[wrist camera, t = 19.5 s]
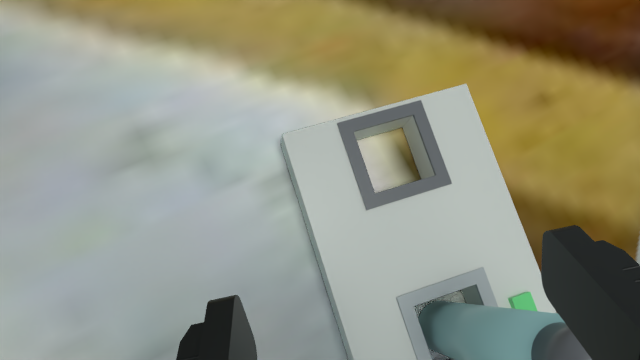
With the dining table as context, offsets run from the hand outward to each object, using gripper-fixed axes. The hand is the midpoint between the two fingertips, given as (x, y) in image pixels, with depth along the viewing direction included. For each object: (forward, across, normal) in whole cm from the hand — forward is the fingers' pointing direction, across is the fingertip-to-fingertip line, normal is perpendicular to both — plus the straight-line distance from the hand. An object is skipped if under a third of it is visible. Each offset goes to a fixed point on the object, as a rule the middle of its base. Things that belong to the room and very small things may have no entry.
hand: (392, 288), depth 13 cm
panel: (+23, -5, +16) cm, 28 cm away
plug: (+18, -6, +22) cm, 29 cm away
